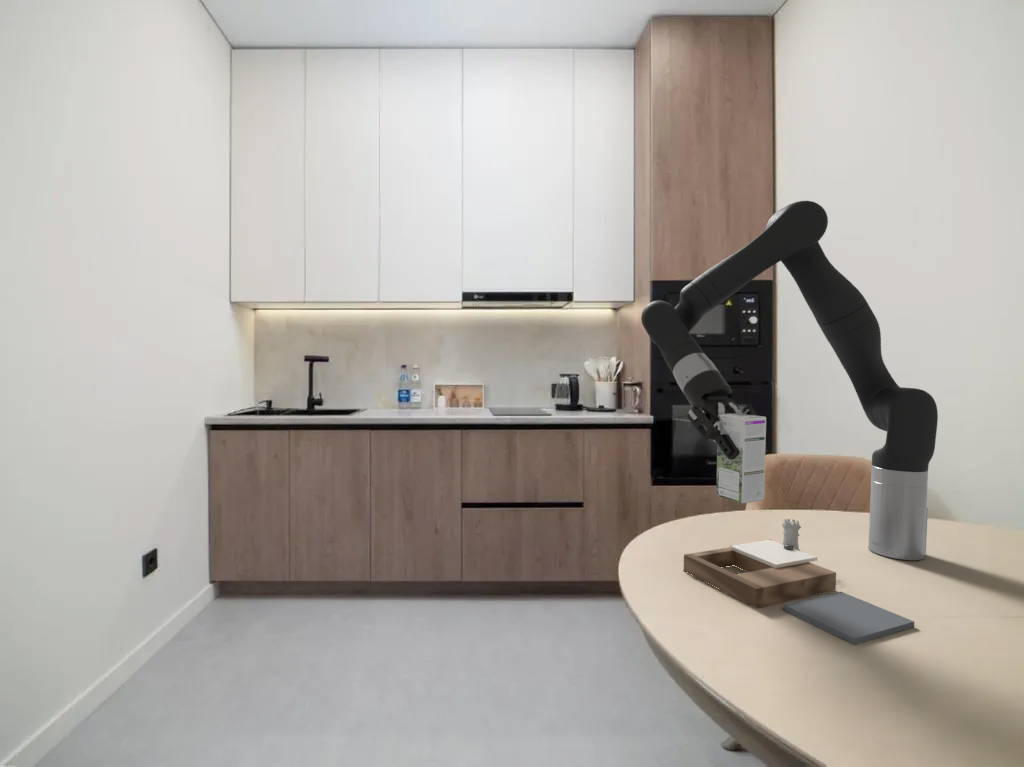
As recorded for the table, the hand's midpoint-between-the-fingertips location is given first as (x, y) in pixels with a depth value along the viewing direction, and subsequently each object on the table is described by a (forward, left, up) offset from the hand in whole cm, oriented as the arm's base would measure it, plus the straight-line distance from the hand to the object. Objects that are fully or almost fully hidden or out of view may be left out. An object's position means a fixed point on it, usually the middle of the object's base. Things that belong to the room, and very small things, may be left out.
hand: (749, 455), depth 92 cm
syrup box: (0, -2, -8) cm, 8 cm away
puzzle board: (-3, 0, -22) cm, 22 cm away
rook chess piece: (-16, -4, -22) cm, 27 cm away
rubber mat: (-4, +15, -22) cm, 27 cm away
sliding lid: (-9, -2, -19) cm, 21 cm away
